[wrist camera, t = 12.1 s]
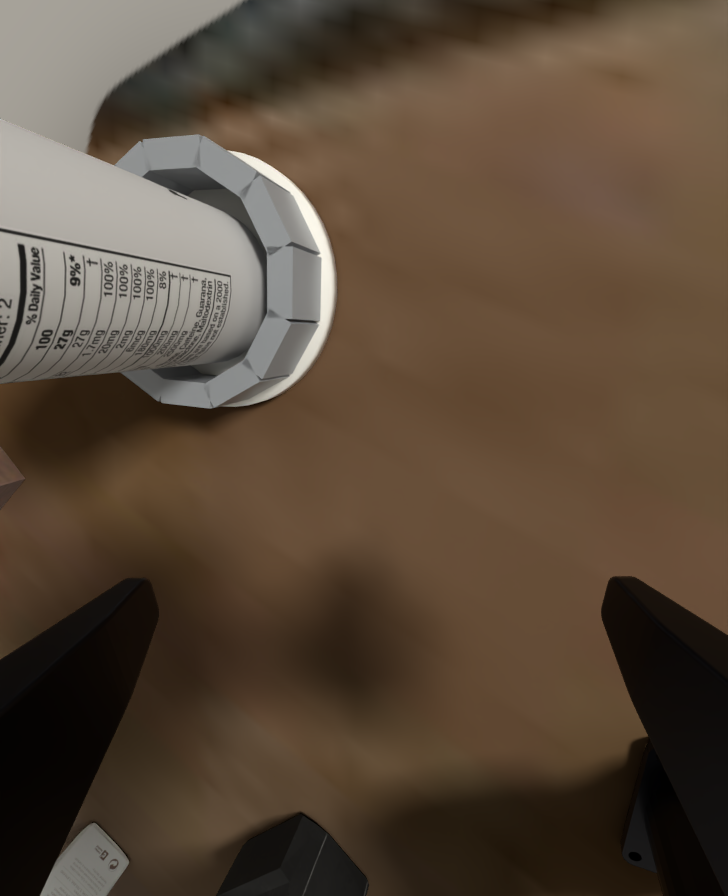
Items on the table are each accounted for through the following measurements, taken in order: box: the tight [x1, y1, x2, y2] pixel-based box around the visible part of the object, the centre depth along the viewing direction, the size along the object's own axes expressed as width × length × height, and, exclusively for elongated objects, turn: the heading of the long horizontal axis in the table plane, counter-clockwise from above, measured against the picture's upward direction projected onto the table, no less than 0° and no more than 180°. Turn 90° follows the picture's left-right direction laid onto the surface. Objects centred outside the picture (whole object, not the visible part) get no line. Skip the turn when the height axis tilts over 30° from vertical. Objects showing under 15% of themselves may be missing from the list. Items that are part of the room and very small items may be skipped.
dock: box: [114, 135, 337, 409], centre depth 19 cm, size 10×10×3 cm
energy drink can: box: [0, 118, 267, 384], centre depth 13 cm, size 6×6×15 cm
